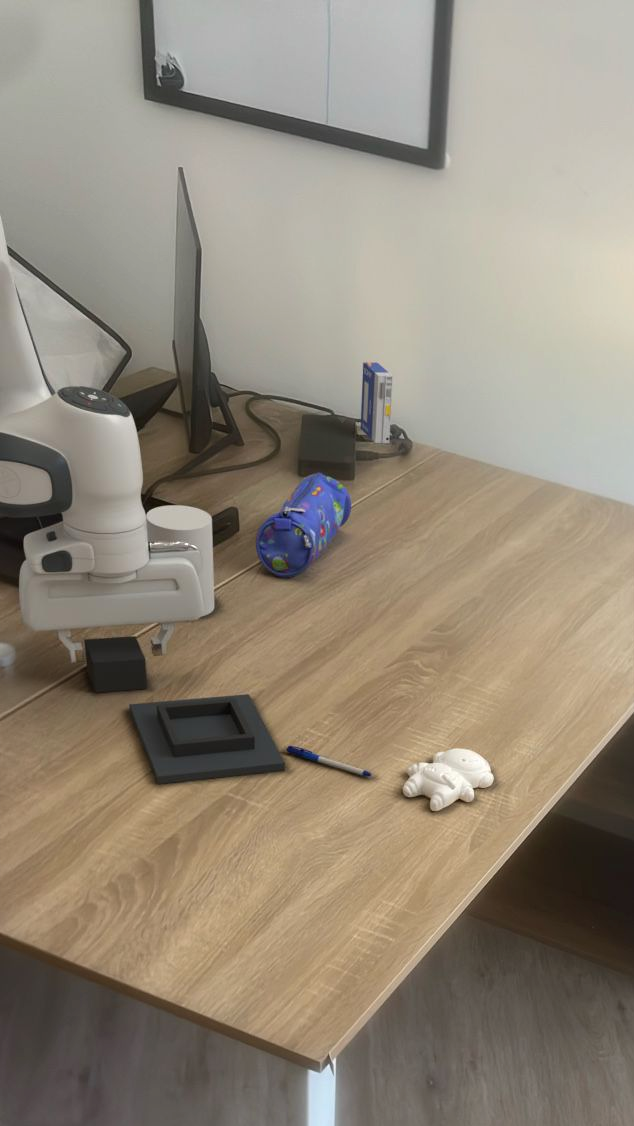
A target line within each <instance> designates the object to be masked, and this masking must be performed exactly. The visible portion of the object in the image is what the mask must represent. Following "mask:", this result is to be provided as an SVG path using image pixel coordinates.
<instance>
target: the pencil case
mask: <svg viewBox="0 0 634 1126" xmlns="http://www.w3.org/2000/svg"><path fill="white" fill-rule="evenodd" d="M278 511H279V512H276V513H273V514H272V515H271V516H270V517H268V518H267V519H266V520H265V521H264V522H263V523H261V524H260V526H259V529H258V531H257V533H256V537H255V551H256V554H257V557H258V559H259V561H260V563H261V564H262V566H263V567H264V568H265V569H266V570H268V572H270V573H271V574H273V575H275V576H277V577H279V578H284V579H285V578H292V577H294V576H298V575H300V574H302V573H304V572H305V571H306V570H307V569H309V567H310V565H311V564H312V563H313V562H314V561H315V560H317V559H318V557H319V556H320V555H321V554H322V552H323V551H324V550H325V549H326V548H327V546H329V544H330V543H331V541H332V540H333V539H334V537H335V536H336V534H337V533H338V531H339V529H340V528H341V527H343V526H344V525H345V524H346V523H347V522H348V519H349V518H350V515H351V512H352V500H351V496H350V494H349V491H348V490H347V488H346V487H345V486H344V485H343V484H342V483H341V482H340V481H338V480H337V479H335V478H333V477H330V476H329V475H325V474H323V473H322V472H316V473H313V474H310V475H307V476H305V477H303V478H302V479H301V481H299V483H298V485H297V486H296V487H295V488H294V490H293V491H292V492H291V494H290V495H289V497H288V498H287V499H286V500H285V502H284V503H283V505H282V507H281V509H279V510H278Z"/></svg>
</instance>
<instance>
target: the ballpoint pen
mask: <svg viewBox="0 0 634 1126" xmlns="http://www.w3.org/2000/svg"><path fill="white" fill-rule="evenodd" d="M286 752H287V753H288V754H292V755H295V756H298V757H300V758H304V759H307V760H311V761H313V762H317V763H322V764H325V765H328V766H332V767H334V768H338V769H340V770H343V771H348V772H350V773H354V774H357V775H360V776H364V777H372V773H371V772H370V771H368V770H365V769H363V768H359V767H356V766H353V765H350V764H347V763H344V762H340V761H337V760H335V759H334V760H333V759H330V758H327V757H325V756H320V755H319V754H316V753H313V751H311V750H310V749H309V750H308V749H305V748H302V747H299V746H294V745H288V747H287V748H286Z"/></svg>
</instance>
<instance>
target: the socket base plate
mask: <svg viewBox="0 0 634 1126" xmlns="http://www.w3.org/2000/svg"><path fill="white" fill-rule="evenodd" d="M128 709H129V713H130V717H131V718H132V721H133V724H134V727H135V728H136V729H135V730H136V731H137V734H138V736H139V739H140V742H141V744H142V747H143V750H144V752H145V755H146V757H147V760H148V762H149V765H150V767H151V770H152V773H153V775H154V777H155V780H156V783H157V785H163V784H172V783H181V782H190V781H191V782H192V781H200V780H209V779H218V778H226V777H235V776H245V775H255V774H263V773H272V772H281V771H282V772H283V771H286V762H285V760H284V758H283V756H282V755H281V753H280V750H279V749H278V747H277V745H276V743H275V741H274V739H273V737H272V736H271V734H270V732H269V730H268V727H267V726H266V724H265V722H264V721H263V719H262V718H263V717H261V715H260V713H259V711H258V709H257V707H256V705H255V703H254V701H253V699H252V697H251V696H250V694H249V693H247V694H235V695H224V696H223V695H221V696H212V697H198V698H188V699H187V698H186V699H176V700H174V699H173V700H165V701H163V700H162V701H153V702H141V703H140V702H139V703H129V705H128Z"/></svg>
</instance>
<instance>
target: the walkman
mask: <svg viewBox="0 0 634 1126" xmlns="http://www.w3.org/2000/svg"><path fill="white" fill-rule="evenodd" d="M393 377H394V376H393V375H392V374H391V373H390V372H389V371H388V370H386V369H385V368H384V367H383V366H382V365H381V364H379V362H370V361H366V362H365V361H364V362H363V363H362V380H361V381H362V384H361V406H360V407H361V409H360V430H361V431H362V432H363V433H364V434H365V435H366V436H367V437H368V438H369V439H370V440H371V441H372V442H373V443H374V444H390V436H391V421H392V420H391V419H392V402H393V398H392V396H393V381H394V380H393V379H394V378H393Z"/></svg>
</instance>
